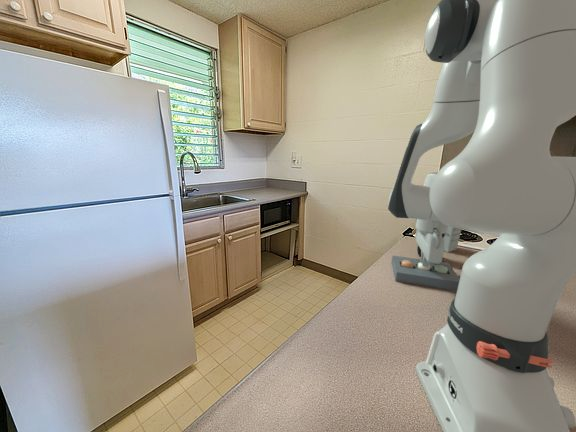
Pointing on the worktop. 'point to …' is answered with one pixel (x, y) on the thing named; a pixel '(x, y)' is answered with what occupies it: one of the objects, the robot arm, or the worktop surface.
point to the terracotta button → (407, 264)
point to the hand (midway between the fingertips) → (424, 264)
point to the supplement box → (451, 239)
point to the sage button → (440, 269)
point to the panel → (424, 274)
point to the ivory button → (423, 267)
